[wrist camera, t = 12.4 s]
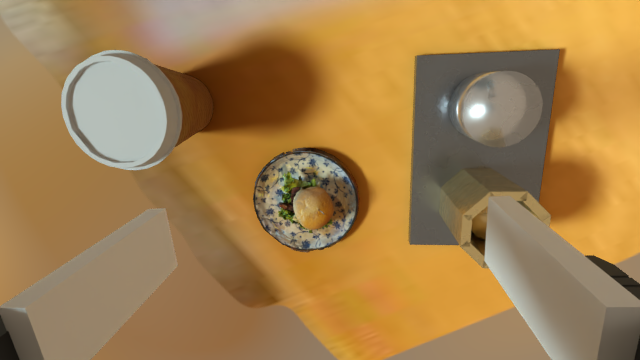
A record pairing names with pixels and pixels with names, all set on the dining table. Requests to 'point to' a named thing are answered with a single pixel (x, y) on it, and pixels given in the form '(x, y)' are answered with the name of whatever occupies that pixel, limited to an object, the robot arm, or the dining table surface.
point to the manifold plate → (463, 151)
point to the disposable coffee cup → (132, 109)
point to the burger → (306, 199)
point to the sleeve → (479, 205)
